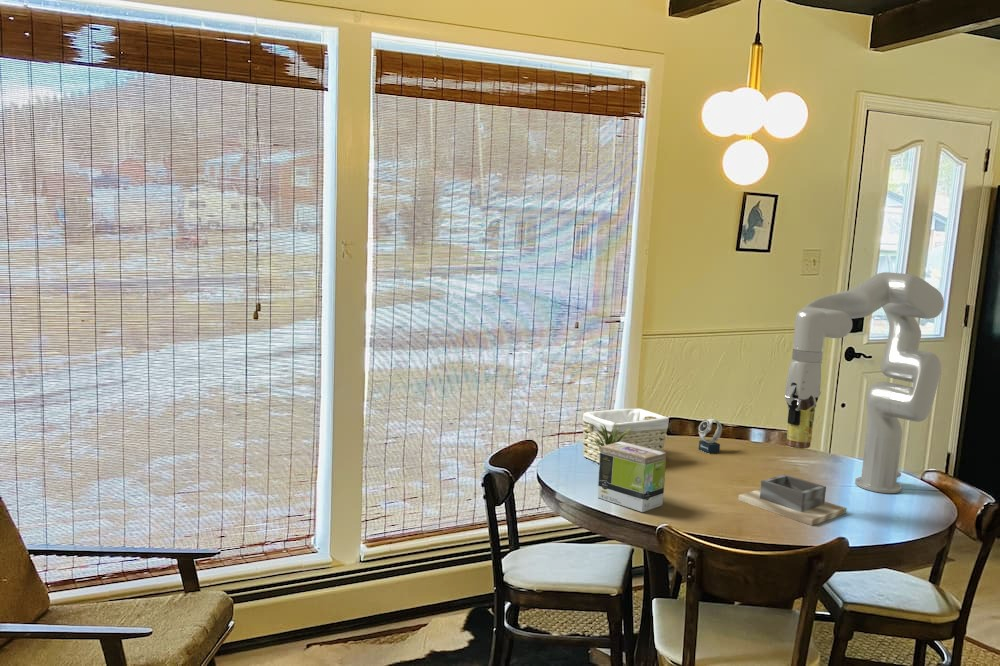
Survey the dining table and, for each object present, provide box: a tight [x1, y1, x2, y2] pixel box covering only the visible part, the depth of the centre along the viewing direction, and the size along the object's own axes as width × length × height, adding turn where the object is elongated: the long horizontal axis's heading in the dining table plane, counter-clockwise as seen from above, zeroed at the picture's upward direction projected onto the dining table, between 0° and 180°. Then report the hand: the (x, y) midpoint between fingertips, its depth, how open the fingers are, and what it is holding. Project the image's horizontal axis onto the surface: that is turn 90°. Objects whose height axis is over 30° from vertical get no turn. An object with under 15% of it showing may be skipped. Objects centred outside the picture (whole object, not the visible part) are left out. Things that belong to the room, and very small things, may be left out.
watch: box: [697, 418, 723, 454], centre depth 271 cm, size 6×8×11 cm
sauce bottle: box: [786, 396, 815, 450], centre depth 215 cm, size 6×6×20 cm
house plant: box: [591, 424, 632, 465], centre depth 238 cm, size 14×14×16 cm
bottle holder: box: [737, 474, 847, 527], centre depth 218 cm, size 17×22×6 cm
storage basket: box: [582, 407, 670, 464], centre depth 256 cm, size 24×16×15 cm
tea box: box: [597, 441, 667, 513], centre depth 216 cm, size 15×10×15 cm
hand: (800, 422), depth 216 cm, fingers closed on sauce bottle, 6 cm apart
